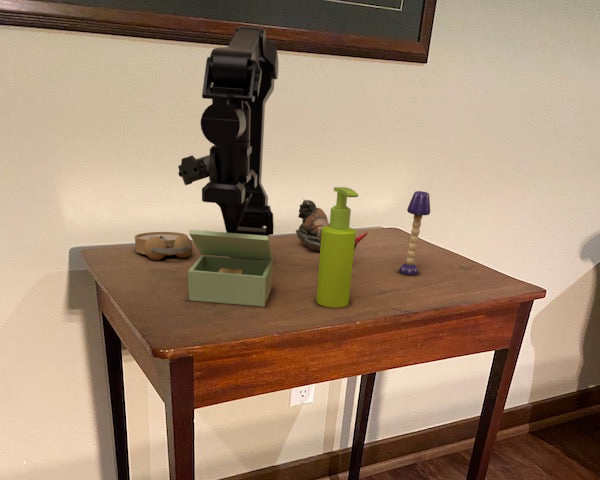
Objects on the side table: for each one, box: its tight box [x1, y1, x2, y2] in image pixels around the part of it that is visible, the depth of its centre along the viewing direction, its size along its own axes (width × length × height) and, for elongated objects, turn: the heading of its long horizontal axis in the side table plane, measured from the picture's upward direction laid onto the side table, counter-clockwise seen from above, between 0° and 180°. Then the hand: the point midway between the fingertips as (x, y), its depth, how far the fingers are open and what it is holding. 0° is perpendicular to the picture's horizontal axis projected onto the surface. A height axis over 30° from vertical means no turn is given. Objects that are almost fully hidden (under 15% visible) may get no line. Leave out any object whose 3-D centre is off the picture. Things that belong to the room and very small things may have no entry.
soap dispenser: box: [315, 186, 359, 309], centre depth 107 cm, size 6×7×20 cm
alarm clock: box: [134, 231, 193, 261], centre depth 132 cm, size 11×5×15 cm
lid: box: [188, 229, 274, 261], centre depth 109 cm, size 11×13×1 cm
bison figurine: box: [295, 199, 330, 252], centre depth 143 cm, size 12×7×10 cm, turn 27°
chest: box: [187, 254, 274, 308], centre depth 111 cm, size 10×13×5 cm
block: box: [219, 268, 243, 274], centre depth 109 cm, size 4×4×4 cm
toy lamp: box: [398, 190, 431, 276], centre depth 128 cm, size 5×5×17 cm
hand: (231, 237), depth 106 cm, fingers closed
